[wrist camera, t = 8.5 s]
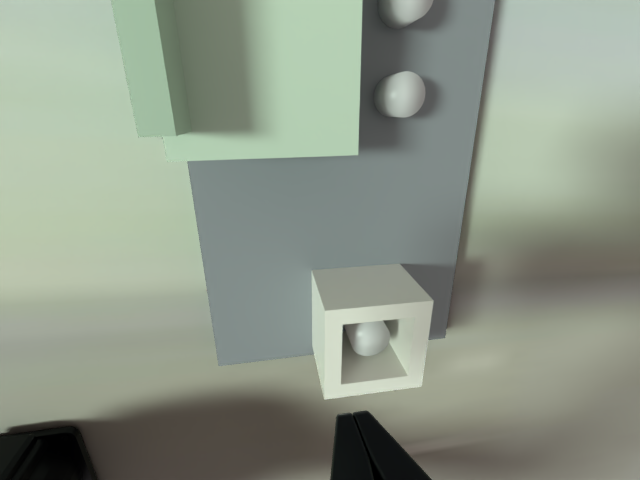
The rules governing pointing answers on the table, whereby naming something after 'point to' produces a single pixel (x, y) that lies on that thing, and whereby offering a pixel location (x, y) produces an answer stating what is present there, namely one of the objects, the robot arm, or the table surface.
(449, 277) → the housing plate
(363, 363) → the white hollow square block
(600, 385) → the table surface
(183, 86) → the cover
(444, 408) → the table surface
